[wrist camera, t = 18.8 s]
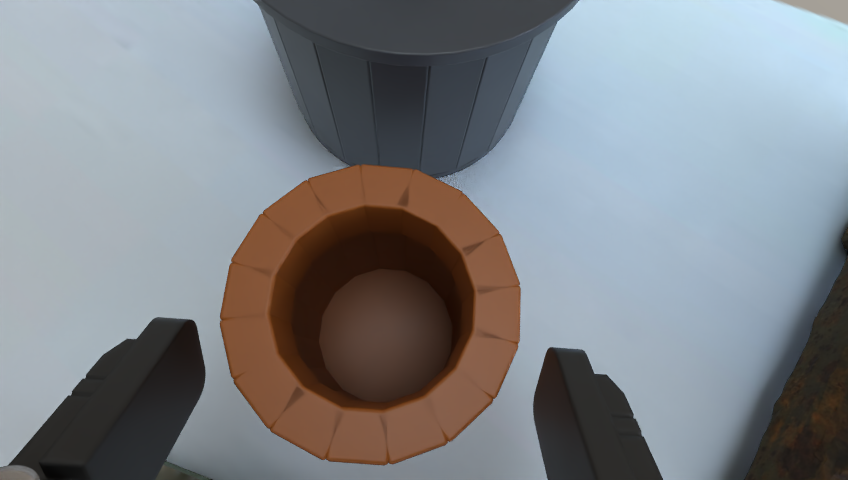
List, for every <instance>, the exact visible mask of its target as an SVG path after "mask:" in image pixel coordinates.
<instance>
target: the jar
mask: <svg viewBox="0 0 848 480" xmlns="http://www.w3.org/2000/svg"><path fill="white" fill-rule="evenodd" d="M231 261H232V263H231V264H230V266H229V271H228V276H227V281H226V287H225V292H224V297H223V303H222V308H221V313H220V319H221V321H220V328H221V332H222V337H223V341H224V346H225V351H226V355H227V360H228V364H229V369H230V373H231V377H232V378H233V379H234V380H233V381H234V384H235V385H236V387H237V388H238V389H239V391H240V392H241V393H242V395H243V396H244V397H245V399H246V400H247V401H248V403H249V404H250V406H251V407H252V408H253V410H254V411H255V412H256V414H257V415H258V416H259V418H260V419H261V420H262V422H263V423H264V424H265V426H266V427H267V428H269V429H270V431H271V432H272V433H274V434H276V435H278V436H279V437H281V438H283V439H285V440H287V441H289V442H290V443H292V444H294V445H296V446H298V447H299V448H301V449H303V450H305V451H307V452H308V453H310V454H312V455H314V456H316V457H318V458H319V459H321V460H325V459H326V460H328V461H331V462H345V463H359V464H373V465H386V464H388V462H389V464H395V463H398V462H401V461H403V460H406V459H409V458H412V457H414V456H417V455H420V454H423V453H425V452H428V451H431V450H433V449H436V448H439V447H442V446H444V445H446V444H447V443H448V441H449V442H450V441H453V440H454V439H455V438H456V437H457V436H458V435H459V434H460V433H461V432H462V431H463V430H464V429H465V428H466V427H467V426H468V425H469V424H471V423H472V422H473V421H474V420H475V419H476V418H477V417H478V416H479V415H480V414H481V413H482V412H483V411H484V410H485V409H486V408H487V407H488V406H489V405H491V404H492V402H493V399H495V398H496V397H497V395H498V392H499V390H500V388H501V386H502V383H503V381H504V379H505V376H506V374H507V372H508V370H509V367H510V365H511V363H512V360H513V358H514V356H515V354H516V351H517V349H518V343H519V341H520V296H521V289H520V286H519V285H520V282H519V280H518V277H517V275H516V272H515V269H514V267H513V264H512V261H511V259H510V256H509V254H508V251H507V248H506V246H505V243H504V241H503V238H502V236H501V234H499V231H498V230H497V229H496V228H495V226H494V225H493V224H492V223H491V222H490V221H489V220H488V219H487V218H486V217H485V216H484V215H483V213H482V212H481V211H480V210H479V209H478V208H477V207H476V206H475V205H474V204H473V203H472V202H471V200H470V199H469V198H468V197H467V196H466V195H465V194H463V192H462V191H460V190H458V189H456V188H454V187H452V186H449V185H447V184H445V183H443V182H441V181H439V180H437V179H435V178H433V177H431V176H429V175H427V174H425V173H423V172H421V171H419V170H417V169H415V170H413V169H411V168H399V167H388V166H377V165H366V164H362V165H361V166H360V165H355V166H351V167H348V168H344V169H340V170H337V171H333V172H330V173H326V174H323V175H319V176H315V177H312V178H309V179H308V181H307V180H306V181H304V182H302V183H301V184H300V185H298V186H297V187H295V188H294V189H293V190H291V191H290V192H289V193H287V194H286V195H285V196H283V197H282V198H280V199H279V200H278V201H276V202H275V203H274V204H272V205H271V206H270V207H268V208H267V209H265V210H264V211H263V214H260V215H259V217H258V218H257V220H256V222H255V223H254V225H253V226H252V228H251V229H250V231H249V233H248V234H247V236H246V237H245V239H244V240H243V242H242V243H241V245H240V247H239V248H238V250H237V251H236V253H235V254H234V256H233V258H232V260H231Z"/></svg>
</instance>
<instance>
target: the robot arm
mask: <svg viewBox="0 0 848 480" xmlns="http://www.w3.org/2000/svg"><path fill="white" fill-rule="evenodd" d="M204 383H205V365H204V360H203V355H202V350H201V345H200V340H199V335H198V331H197V326H196V324H195V322H194V321H193V320H188V319H175V318H161V317H157V318H155V319H153V320H152V321H151V322H150V323H149V324H148V326H147V327H146V328H145V329H144V331H143V332H142V333H141V334H140V336H139V337H138V338H137V339H126V340H125V341H123V342H122V343H120V344H119V345H117V346H116V347H114V348H113V349H111V350H110V351H108V352H107V353H105V354H104V355H103V356H102V357H101V358H100V359H99V360H98V361H97V363H96V364H95V365H94V366H93V367H92V368H91V370H90V371H89V372H88V373H87V374H86V378H85V379H82V380H81V381H80V382H79V384H78V385H77V386H76V387H75V388H74V389H73V391H72V394H71V396H69V395H68V396H67V398H66V399H65V400H64V401H63V402H62V403H61V405H60V406H59V407H58V408H57V409H56V410H55V412H54V413H53V414H52V415H51V416H50V417H49V419H48V420H47V421H46V422H45V423H44V424H43V426H42V427H41V428H40V429H39V430H38V431H37V433H36V434H35V435H34V436H33V437H32V438H31V440H30V441H29V442H28V443H27V444H26V445H25V447H24V448H23V449H22V450H21V451H20V452H19V454H18V455H17V456H16V457H15V458H14V459H13V460H12V461H11V463H10V464H9V465H8V466H3V467H0V480H155V479H156V477H157V475H158V473H159V471H160V470H161V468H162V466H163V464H164V462H165V460H166V459H167V457H168V455H169V453H170V451H171V449H172V448H173V446H174V444H175V442H176V440H177V438H178V437H179V435H180V433H181V431H182V429H183V427H184V426H185V424H186V422H187V420H188V418H189V416H190V415H191V413H192V411H193V409H194V407H195V405H196V404H197V402H198V400H199V398H200V396H201V393H202V391H203V387H204ZM533 413H534V421H535V426H536V430H537V435H538V439H539V443H540V448H541V452H542V457H543V461H544V465H545V470H546V474H547V479H548V480H663V478H662V476H661V474H660V472H659V469H658V467H657V465H656V463H655V461H654V458H653V456H652V454H651V452H650V450H649V447H648V445H647V443H646V441H645V439H644V437H642V435H641V430H640V428H639V425H638V423H637V421H636V419H634V418H633V415H634V414H633V412H632V410H631V408H630V406H629V403H628V401H627V399H626V397H625V395H624V393H623V392H622V391H621V390H620V389H619V388H618V386H617V385H616V384H615V383H614V382H613V381H612V380H611V379H610V378H609V377H608V376H607V375H602V374H594V372H593V369H592V367H591V364H590V362H589V359H588V357H587V355H586V353H585V351H583V350H580V349H566V348H553V347H550V348H549V349H548V350H547V352H546V355H545V359H544V362H543V366H542V369H541V373H540V376H539V380H538V384H537V387H536V391H535V395H534V403H533Z"/></svg>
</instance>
